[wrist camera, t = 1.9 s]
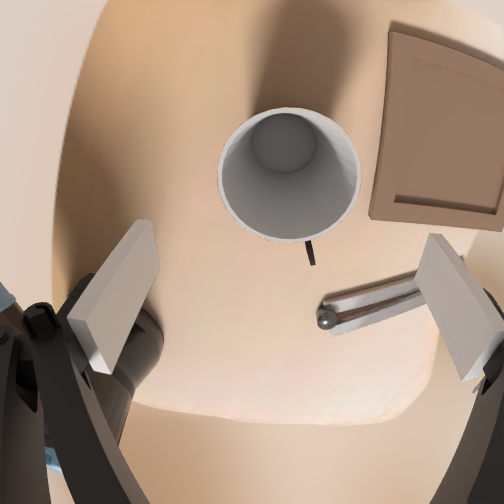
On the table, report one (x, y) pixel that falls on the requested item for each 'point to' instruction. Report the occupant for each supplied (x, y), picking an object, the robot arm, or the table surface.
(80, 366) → the robot arm
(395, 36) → the tray
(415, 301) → the tongs
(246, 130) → the coffee mug
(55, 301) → the table surface
